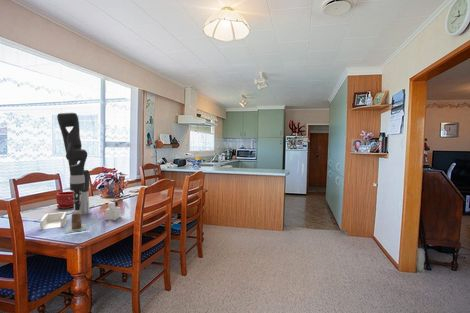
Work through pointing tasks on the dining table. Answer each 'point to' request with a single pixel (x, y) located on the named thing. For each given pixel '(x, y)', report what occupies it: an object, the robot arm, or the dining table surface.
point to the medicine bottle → (112, 211)
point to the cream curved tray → (53, 220)
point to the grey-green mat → (76, 229)
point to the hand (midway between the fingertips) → (77, 208)
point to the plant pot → (65, 199)
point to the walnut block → (76, 220)
